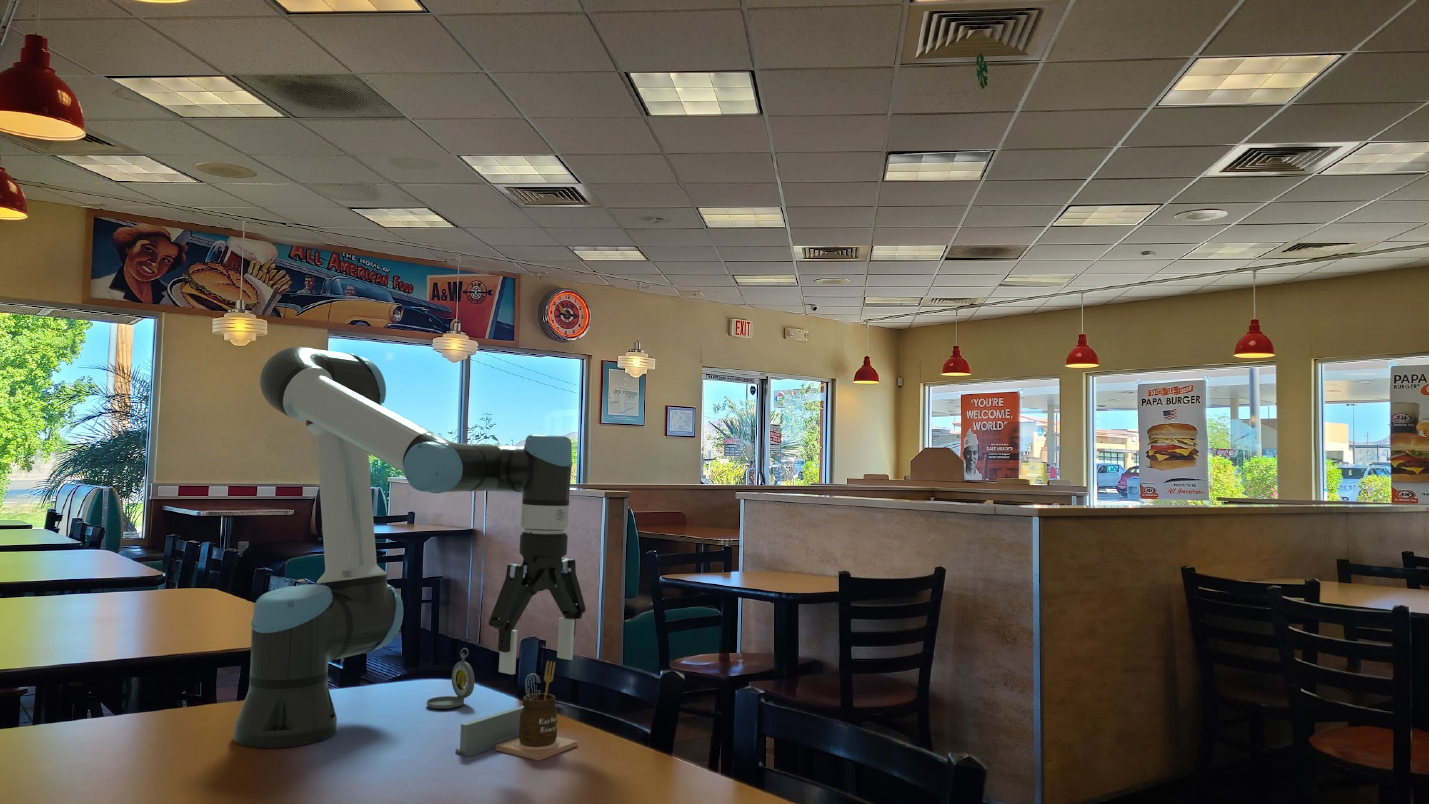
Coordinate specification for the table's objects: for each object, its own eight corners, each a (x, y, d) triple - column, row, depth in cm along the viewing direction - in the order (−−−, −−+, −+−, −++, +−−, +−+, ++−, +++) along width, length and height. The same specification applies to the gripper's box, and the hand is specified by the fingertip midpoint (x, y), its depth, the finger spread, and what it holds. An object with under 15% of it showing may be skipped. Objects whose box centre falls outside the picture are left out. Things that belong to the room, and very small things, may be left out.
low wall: (455, 752, 146) (456, 723, 146) (534, 726, 161) (535, 699, 161) (469, 756, 144) (470, 726, 144) (548, 729, 159) (548, 702, 160)
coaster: (495, 750, 147) (495, 744, 147) (534, 736, 155) (534, 731, 155) (539, 760, 143) (539, 754, 143) (577, 746, 150) (577, 740, 150)
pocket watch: (419, 709, 170) (422, 653, 171) (440, 698, 179) (442, 644, 179) (462, 712, 169) (464, 655, 170) (481, 701, 177) (483, 647, 178)
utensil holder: (511, 744, 147) (513, 666, 148) (533, 734, 153) (535, 659, 154) (543, 749, 145) (546, 670, 146) (564, 739, 151) (567, 663, 152)
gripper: (507, 537, 139) (498, 683, 137) (610, 529, 160) (603, 656, 159) (470, 533, 142) (461, 675, 141) (575, 526, 164) (569, 649, 163)
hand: (536, 665), depth 150 cm, fingers open, 13 cm apart
